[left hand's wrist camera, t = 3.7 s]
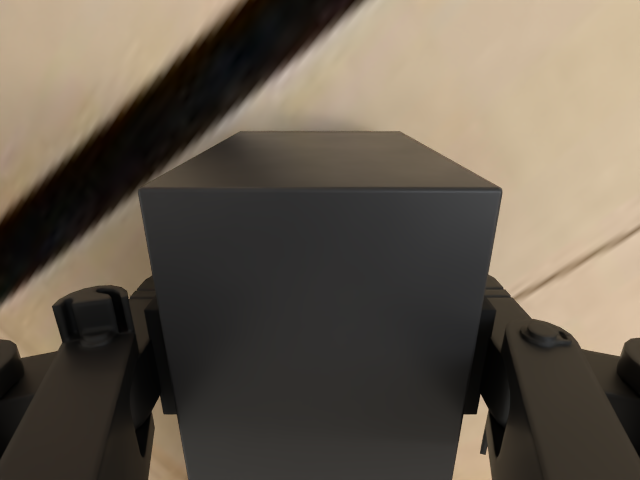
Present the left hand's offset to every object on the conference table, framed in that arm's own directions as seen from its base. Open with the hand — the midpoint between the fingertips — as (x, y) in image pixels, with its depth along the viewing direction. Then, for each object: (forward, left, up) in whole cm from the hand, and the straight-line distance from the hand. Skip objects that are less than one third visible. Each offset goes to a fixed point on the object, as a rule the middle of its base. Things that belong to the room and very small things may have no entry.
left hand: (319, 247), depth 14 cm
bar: (+8, 0, -1) cm, 8 cm away
